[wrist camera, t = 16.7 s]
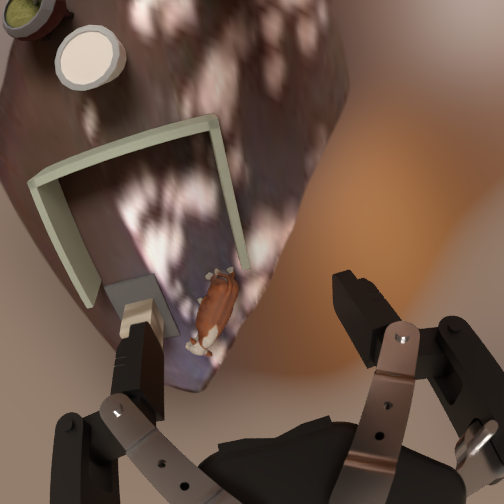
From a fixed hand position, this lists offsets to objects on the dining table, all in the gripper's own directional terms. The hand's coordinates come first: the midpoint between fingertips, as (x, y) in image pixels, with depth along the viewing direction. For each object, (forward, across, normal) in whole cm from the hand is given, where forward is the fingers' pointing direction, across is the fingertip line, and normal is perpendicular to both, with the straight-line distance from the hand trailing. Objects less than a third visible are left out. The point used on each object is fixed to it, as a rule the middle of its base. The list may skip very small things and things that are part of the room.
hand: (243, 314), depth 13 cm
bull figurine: (+28, +4, +20) cm, 35 cm away
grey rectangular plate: (+28, +15, +20) cm, 38 cm away
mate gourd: (+28, +14, -24) cm, 40 cm away
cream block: (+28, +15, +20) cm, 37 cm away
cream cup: (+28, +9, -15) cm, 33 cm away
